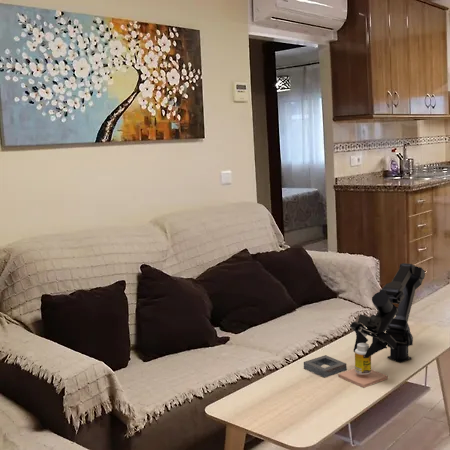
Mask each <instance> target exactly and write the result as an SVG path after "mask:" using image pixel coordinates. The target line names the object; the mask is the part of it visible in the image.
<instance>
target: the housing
mask: <svg viewBox="0 0 450 450" xmlns="http://www.w3.org/2000/svg"><path fill="white" fill-rule="evenodd" d="M323 365H327V367H323ZM303 369H304V370H307V371H308V372H311V373H312V374H316V375H317V376H320V377H322V378H328V377H330V376H334V375H336V374H337V375H338V374H340V373H343V372H346V371H348V370H347V363H346V362H344V361H341V360H338V359H336V358H334V357H331V356H329V355H326V354H325V355H322V356H319V357H315V358H311V359H309V360H306V361H303Z"/></svg>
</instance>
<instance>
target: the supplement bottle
mask: <svg viewBox="0 0 450 450" xmlns="http://www.w3.org/2000/svg"><path fill="white" fill-rule="evenodd" d="M369 347H370V345H369V344H368V343H367V342H366V343H358V344H357V349H356V350H355V352H354V369H355V372H356V373H358V374H361V375H367V374H369V373H370V372H371V370H372V355H371V356H369V357H368V358H366V357H365V354H366V352H367V350H368V349H369Z"/></svg>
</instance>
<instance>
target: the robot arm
mask: <svg viewBox="0 0 450 450" xmlns="http://www.w3.org/2000/svg"><path fill="white" fill-rule="evenodd" d="M425 276H426V270H424V269H423V268H422V266H421V267H420V266H416V265H415V264H413V263H405V262H403V263H400V264H399V268H398V270H397V272H396V273H395V275H394V277H393V278H392V280H391V282H388V283H386V284H385V285H384V286H383V287H382V288H381V289H379V291H378V292H376V293H375V294H374V295H372V297H371V302H372V304H373V305H374V307H375V309H376V310H377V311H376V313H375V315H374V314H372V315H371V316H368V315H364V314H361V313H360V314H359V317H358V319H357V321H352V322H351V323H350V325H349V328H351V330H353V331H354V332H355V336H356V337H355V338H356V339H355V343H354V347H353V352H354V353H355V350H356V349H357V344H358V343H367V342H368V341H369V339H368V338H367V336H369V337H371V338H372V340H371V344H370V345H369V349H368V350H367V352H366V354H365V357H366V358H368V357H369V356H371V357H372V356H373V355H374V354H376V353H378V352H380V351H382V350H384V349H386V350H387V349H388V348H390V351H389V352H390V353H389V354H390V355H388V356H387V359H389V360H392V361H395V362H398V363H403V362H407V361H409V360H412V356H409V347H410V346H413V342H414V337H413V334H412V333H411V328H410V325H409V322H408V321H409V317H410V313H411V309H412V305H413V301H414V297H415V294H416V290H417V289H418V288H419V287H420V286H421V285H422V284H423V280H425ZM395 304H396V305H398V306H396V305H395Z"/></svg>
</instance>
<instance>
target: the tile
mask: <svg viewBox="0 0 450 450" xmlns="http://www.w3.org/2000/svg"><path fill="white" fill-rule="evenodd" d="M337 375H338V378H341V379H343V380H345V381H347V382H350V383H351V384H354V385H356V386H359V387H360V388H366V387H369V386H373V385H374V384H377V383H380V382H383V381H387V380H388V379H389V377H388V375H387V374H383V373H381V372H378V371H375V370H374V369H371V372H370V373H369V374H367V375H361V374H358V373H356V372H355V368H352V369H350V370H349V369H348V370H345V371H342V372H340V373H337Z"/></svg>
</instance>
